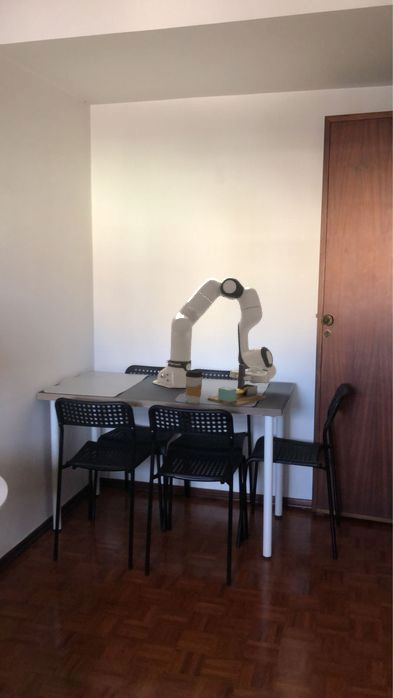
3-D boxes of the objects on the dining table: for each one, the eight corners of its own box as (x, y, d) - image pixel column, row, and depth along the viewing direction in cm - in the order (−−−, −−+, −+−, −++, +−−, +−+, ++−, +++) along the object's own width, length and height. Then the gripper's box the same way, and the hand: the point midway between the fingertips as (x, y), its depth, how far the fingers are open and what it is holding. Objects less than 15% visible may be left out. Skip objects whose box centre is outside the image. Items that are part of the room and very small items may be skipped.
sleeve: (236, 394, 297) (237, 386, 297) (246, 392, 304) (246, 383, 303) (247, 396, 293) (248, 388, 293) (256, 394, 300) (257, 385, 300)
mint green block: (218, 399, 285) (218, 388, 284) (223, 398, 289) (224, 386, 288) (229, 401, 281) (230, 390, 280) (235, 400, 284) (236, 389, 284)
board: (207, 399, 287) (207, 397, 287) (236, 392, 308) (236, 390, 307) (238, 406, 277) (238, 404, 276) (266, 398, 297) (266, 396, 297)
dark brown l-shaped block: (232, 395, 290) (233, 365, 288) (247, 391, 301) (248, 362, 299) (237, 396, 289) (238, 366, 287) (252, 392, 300) (253, 363, 298)
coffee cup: (195, 404, 276) (197, 373, 274) (181, 402, 280) (182, 371, 278) (205, 401, 283) (206, 371, 281) (190, 399, 287) (191, 369, 285)
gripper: (239, 366, 309) (223, 368, 298) (272, 371, 296) (258, 374, 286) (238, 377, 310) (223, 381, 299) (271, 383, 297) (257, 387, 286)
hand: (240, 377), depth 292 cm, fingers closed on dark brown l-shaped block, 2 cm apart
